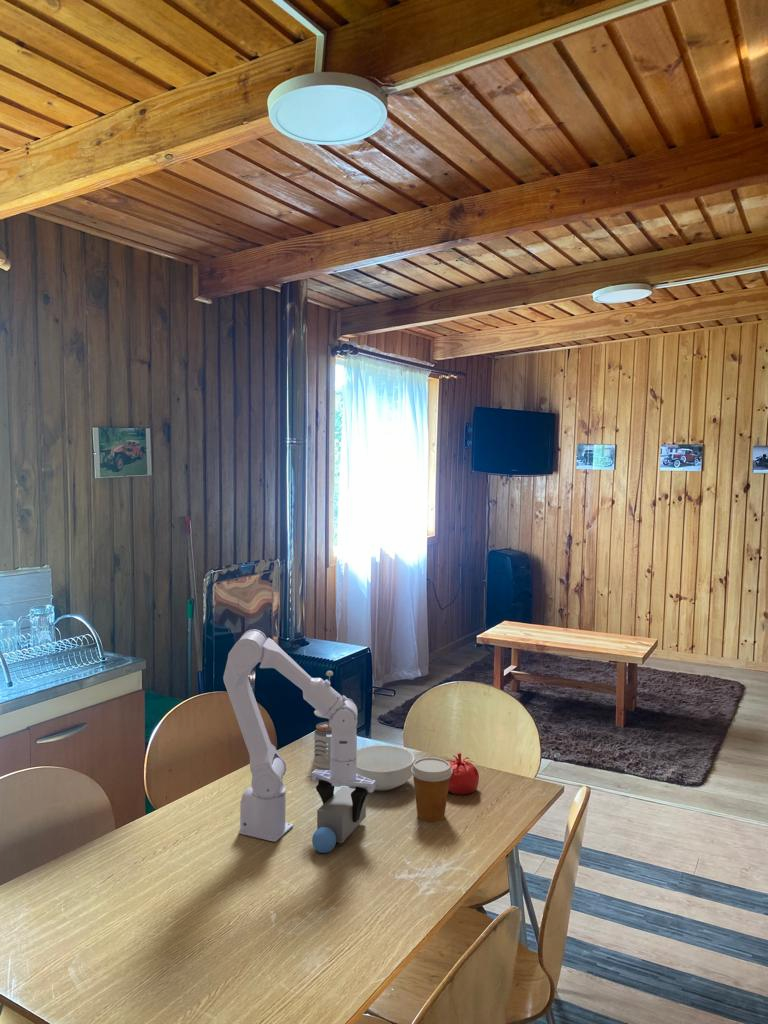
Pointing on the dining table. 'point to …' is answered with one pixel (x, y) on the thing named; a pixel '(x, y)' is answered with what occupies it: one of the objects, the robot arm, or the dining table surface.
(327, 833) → the ball
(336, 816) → the grey rectangular block
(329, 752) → the french press
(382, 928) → the dining table surface
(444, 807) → the disposable coffee cup
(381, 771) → the cereal bowl
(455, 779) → the pomegranate
